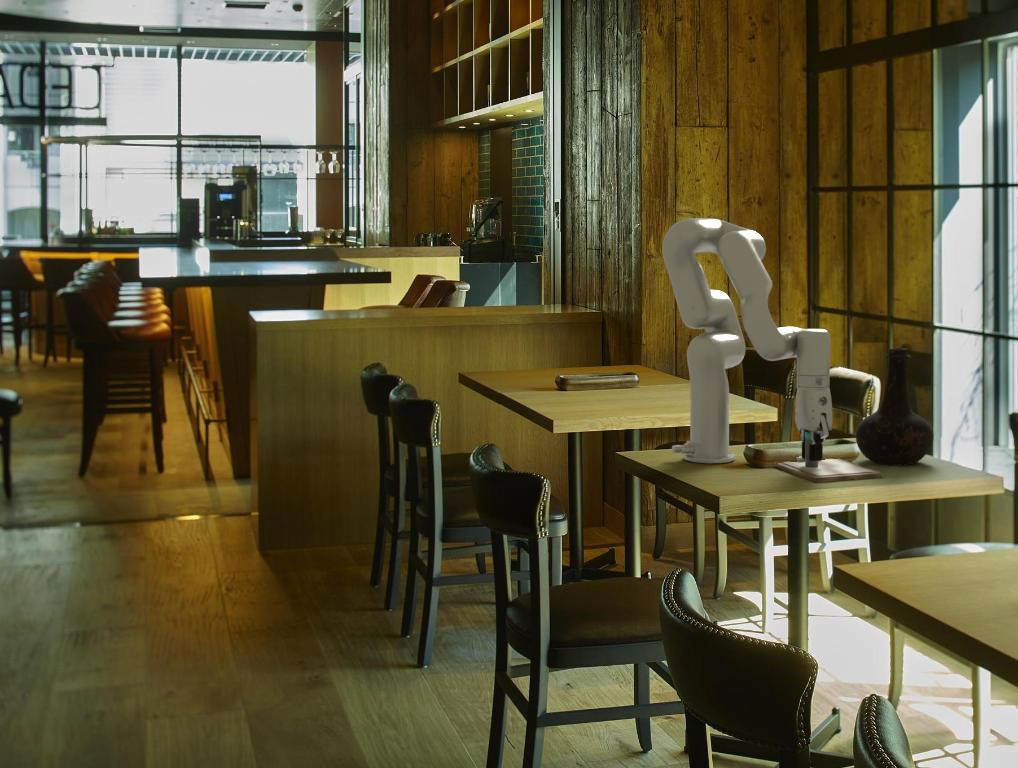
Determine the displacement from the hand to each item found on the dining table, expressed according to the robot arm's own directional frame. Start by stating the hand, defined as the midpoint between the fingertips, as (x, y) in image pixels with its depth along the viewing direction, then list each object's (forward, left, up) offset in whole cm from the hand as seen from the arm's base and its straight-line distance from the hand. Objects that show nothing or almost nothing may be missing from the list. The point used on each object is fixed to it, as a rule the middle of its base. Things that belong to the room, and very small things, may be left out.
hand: (812, 458), depth 297 cm
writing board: (+3, -2, -3) cm, 5 cm away
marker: (0, 0, -2) cm, 2 cm away
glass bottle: (+24, +3, -3) cm, 24 cm away
